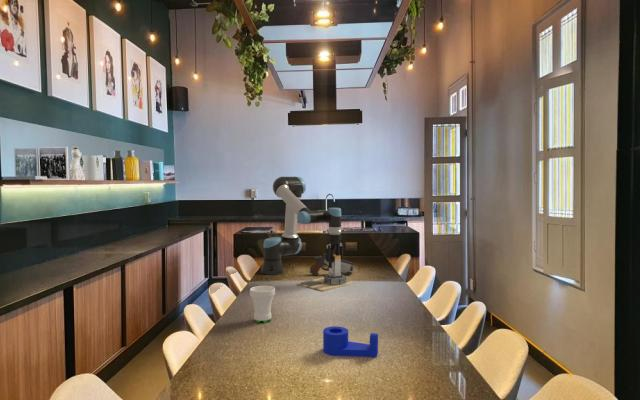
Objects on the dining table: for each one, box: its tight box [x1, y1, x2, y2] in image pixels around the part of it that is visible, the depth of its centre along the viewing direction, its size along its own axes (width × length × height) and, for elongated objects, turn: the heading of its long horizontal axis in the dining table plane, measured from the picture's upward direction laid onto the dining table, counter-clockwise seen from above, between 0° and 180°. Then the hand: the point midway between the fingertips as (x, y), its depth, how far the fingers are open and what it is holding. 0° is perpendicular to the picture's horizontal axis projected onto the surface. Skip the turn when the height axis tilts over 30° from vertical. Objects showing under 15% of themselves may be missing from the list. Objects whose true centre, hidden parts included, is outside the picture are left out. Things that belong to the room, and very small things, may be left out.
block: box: [328, 253, 342, 278], centre depth 256 cm, size 5×5×14 cm
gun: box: [308, 252, 355, 277], centre depth 280 cm, size 5×27×15 cm, turn 89°
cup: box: [249, 285, 276, 324], centre depth 188 cm, size 11×11×14 cm
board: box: [296, 276, 355, 292], centre depth 255 cm, size 22×26×1 cm
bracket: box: [322, 325, 379, 358], centre depth 154 cm, size 20×9×8 cm, turn 77°
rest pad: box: [300, 279, 322, 286], centre depth 254 cm, size 9×9×1 cm
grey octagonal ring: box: [323, 273, 347, 285], centre depth 256 cm, size 13×13×4 cm
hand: (334, 272), depth 256 cm, fingers closed on block, 5 cm apart
